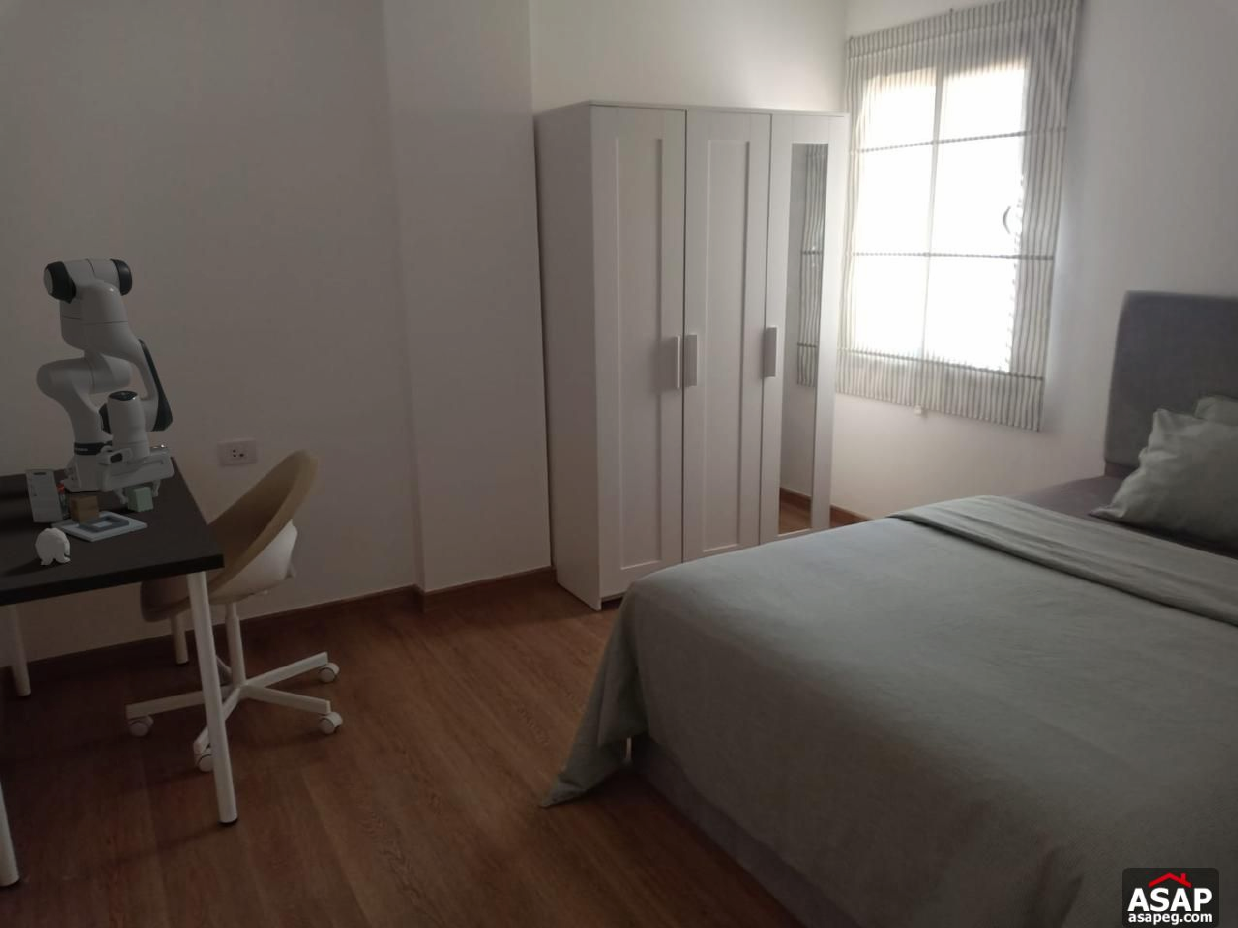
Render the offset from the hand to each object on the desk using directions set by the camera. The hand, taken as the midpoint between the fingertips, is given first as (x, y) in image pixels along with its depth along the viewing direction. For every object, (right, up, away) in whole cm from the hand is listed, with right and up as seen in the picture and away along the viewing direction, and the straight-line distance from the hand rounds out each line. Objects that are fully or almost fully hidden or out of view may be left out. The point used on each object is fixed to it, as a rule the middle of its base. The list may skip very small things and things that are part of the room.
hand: (139, 499), depth 267 cm
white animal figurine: (+1, -13, -40) cm, 42 cm away
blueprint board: (-3, -7, -16) cm, 17 cm away
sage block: (0, -3, +1) cm, 3 cm away
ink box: (-19, -5, -8) cm, 22 cm away
